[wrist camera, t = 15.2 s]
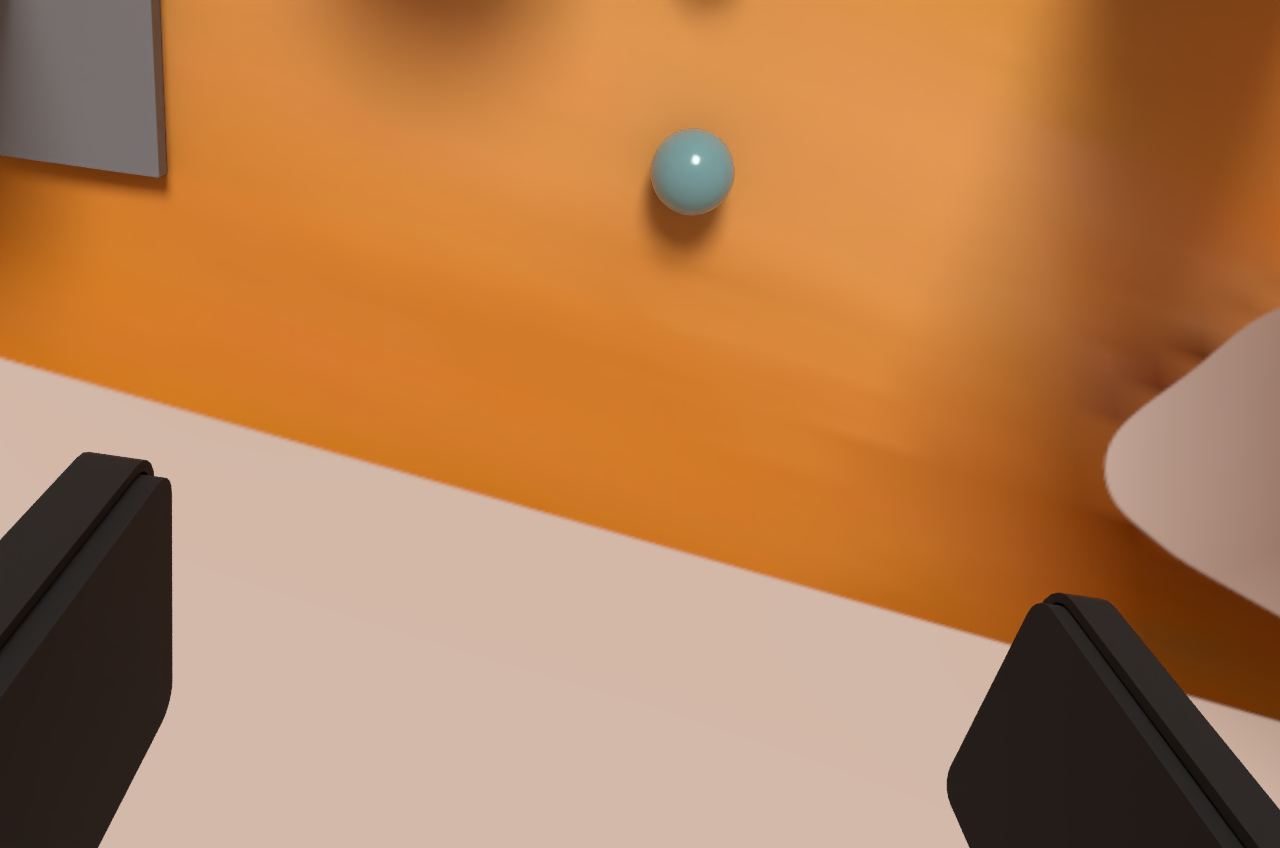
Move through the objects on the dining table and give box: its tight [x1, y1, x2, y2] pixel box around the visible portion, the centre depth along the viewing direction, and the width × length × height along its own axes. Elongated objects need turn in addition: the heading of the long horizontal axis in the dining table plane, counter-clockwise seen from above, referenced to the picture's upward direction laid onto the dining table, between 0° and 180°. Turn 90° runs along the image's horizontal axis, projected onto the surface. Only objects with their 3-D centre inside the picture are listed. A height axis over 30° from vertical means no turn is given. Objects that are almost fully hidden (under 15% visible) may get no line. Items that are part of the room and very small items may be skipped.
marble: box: [650, 128, 735, 215], centre depth 34 cm, size 3×3×3 cm
